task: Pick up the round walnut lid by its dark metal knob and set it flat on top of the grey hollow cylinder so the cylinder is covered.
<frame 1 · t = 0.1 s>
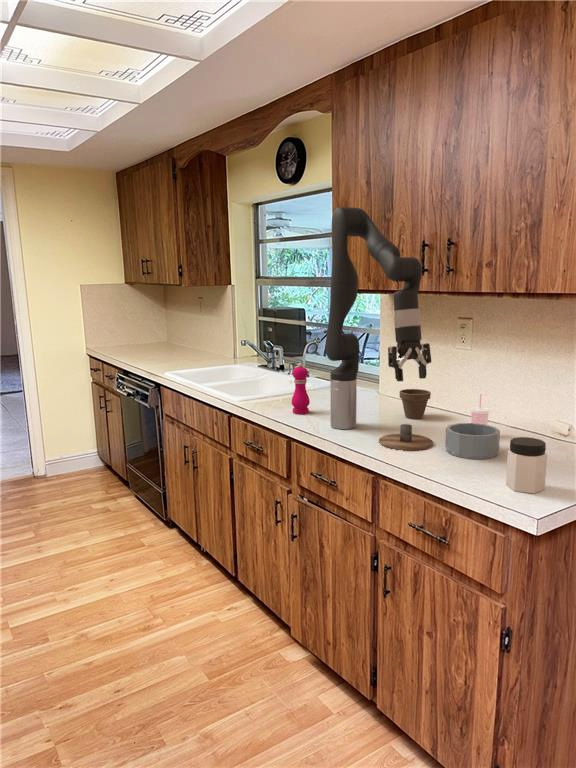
hand: (411, 379, 168), 22 cm above the counter, tool pointing down, fingers open, 8 cm apart
jar: (524, 488, 142), on the counter
walnut lid: (405, 444, 182), on the counter
flower pot: (414, 417, 215), on the counter
beverage cup: (478, 435, 189), on the counter
grey hollow cylinder: (471, 451, 172), on the counter
pepper mill: (300, 413, 225), on the counter
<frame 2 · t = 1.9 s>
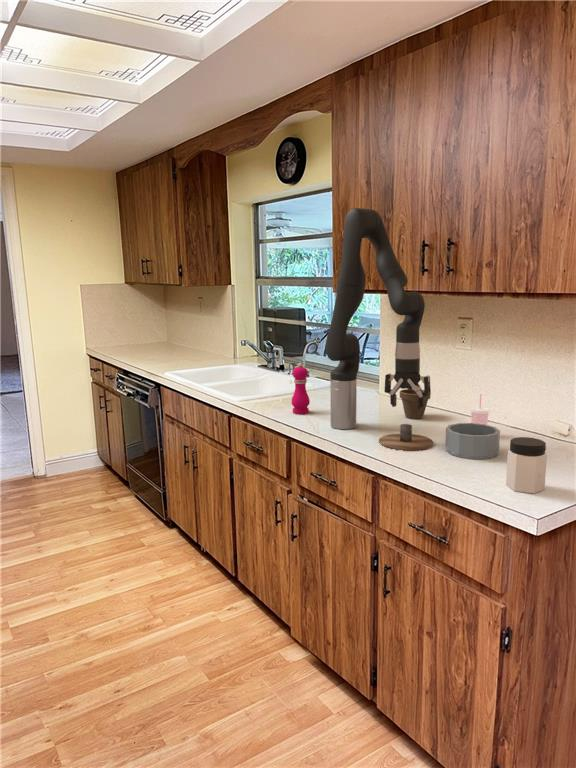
hand: (407, 407, 179), 12 cm above the counter, tool pointing down, fingers open, 8 cm apart
nothing on the counter moved.
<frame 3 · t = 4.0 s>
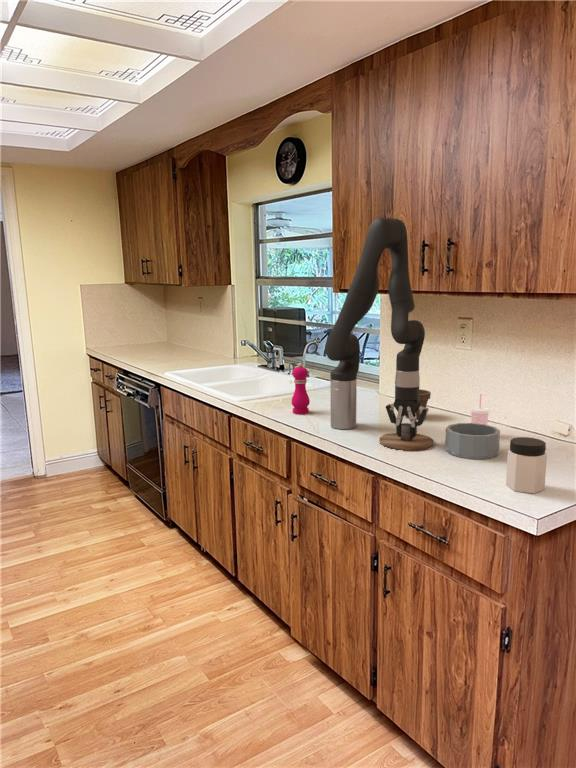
hand: (406, 436, 181), 2 cm above the counter, tool pointing down, fingers closed on walnut lid, 3 cm apart
walnut lid: (406, 443, 182), on the counter, touching gripper
everything else where it was.
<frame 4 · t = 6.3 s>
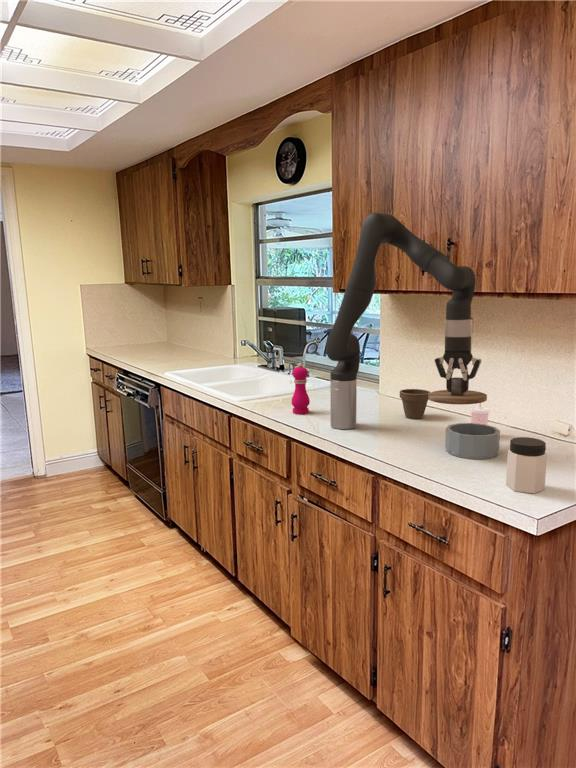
hand: (457, 391, 170), 18 cm above the counter, tool pointing down, fingers closed on walnut lid, 3 cm apart
walnut lid: (457, 398, 171), point 16 cm above the counter, touching gripper
everything else where it was.
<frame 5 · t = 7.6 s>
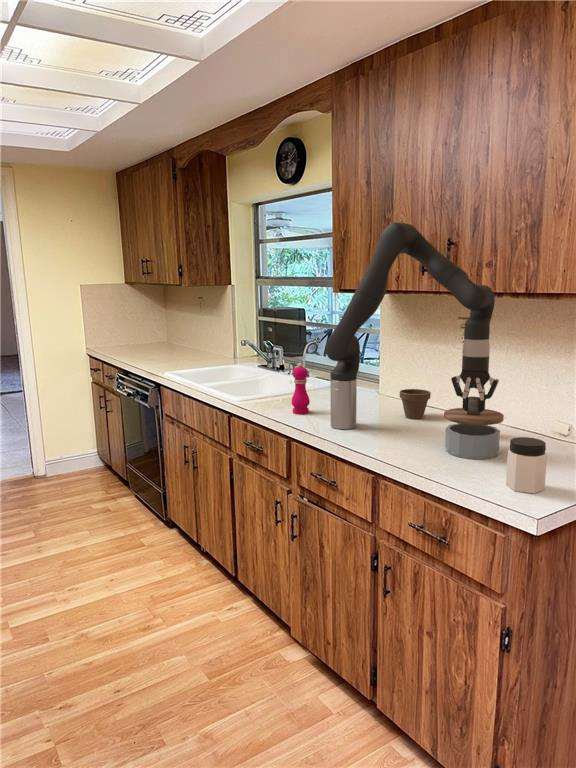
hand: (473, 411, 169), 13 cm above the counter, tool pointing down, fingers closed on walnut lid, 3 cm apart
walnut lid: (473, 417, 170), point 11 cm above the counter, touching gripper
everything else where it was.
when the fingers open (11 cm above the counter, at t = 8.7 s): walnut lid drops 1 cm, resting on grey hollow cylinder.
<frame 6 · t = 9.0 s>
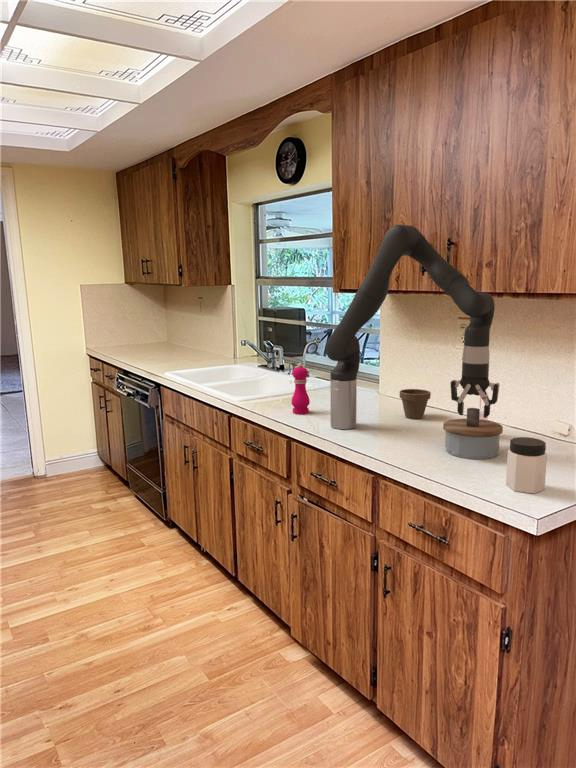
hand: (473, 415, 170), 11 cm above the counter, tool pointing down, fingers open, 6 cm apart
walnut lid: (472, 429, 170), point 7 cm above the counter, touching grey hollow cylinder
everything else where it was.
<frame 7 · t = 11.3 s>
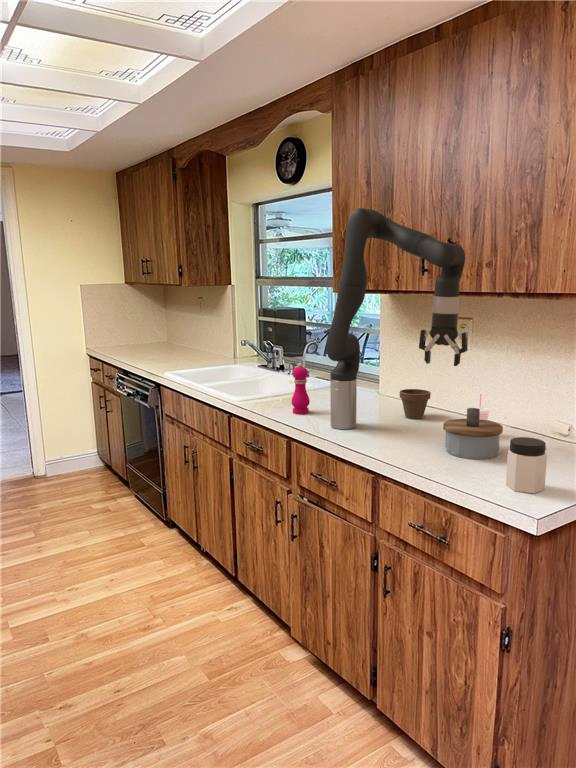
hand: (441, 364, 174), 26 cm above the counter, tool pointing down, fingers open, 8 cm apart
nothing on the counter moved.
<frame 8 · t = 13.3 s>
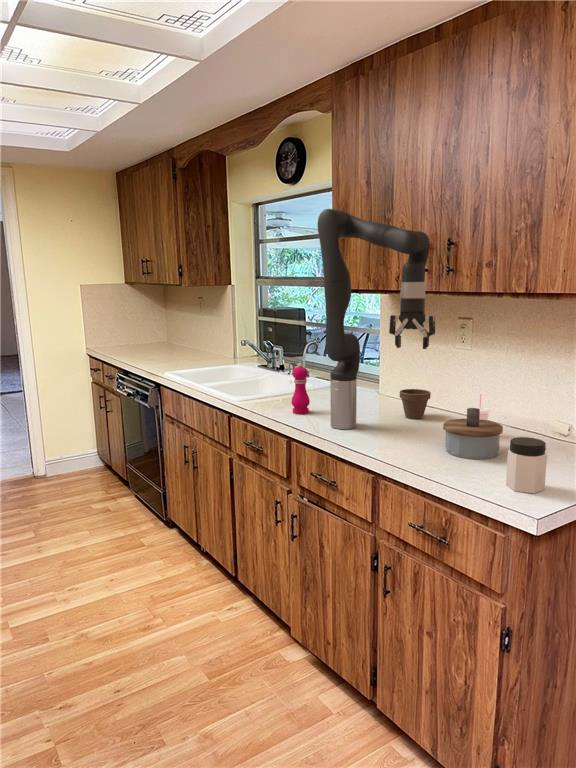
hand: (411, 348, 180), 30 cm above the counter, tool pointing down, fingers open, 8 cm apart
nothing on the counter moved.
at the end: walnut lid 0.0 cm off-centre on the grey hollow cylinder, point 7.0 cm above the grey hollow cylinder's base; walnut lid tilted 0°; the gripper is holding nothing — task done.
